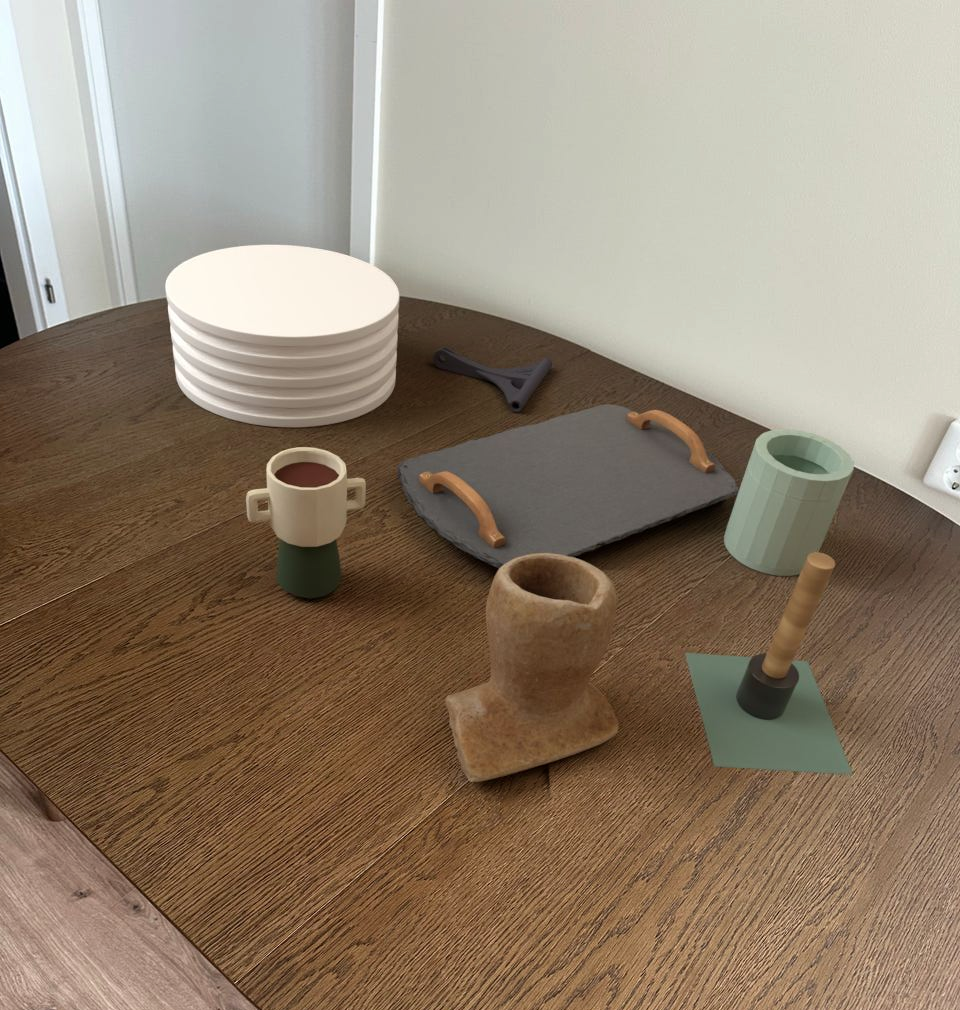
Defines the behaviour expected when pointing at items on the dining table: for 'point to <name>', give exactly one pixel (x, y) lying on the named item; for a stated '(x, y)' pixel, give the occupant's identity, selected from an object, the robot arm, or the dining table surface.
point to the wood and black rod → (784, 645)
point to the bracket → (498, 375)
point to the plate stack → (283, 334)
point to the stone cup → (538, 669)
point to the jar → (786, 500)
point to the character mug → (307, 516)
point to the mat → (764, 721)
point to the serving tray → (564, 483)
